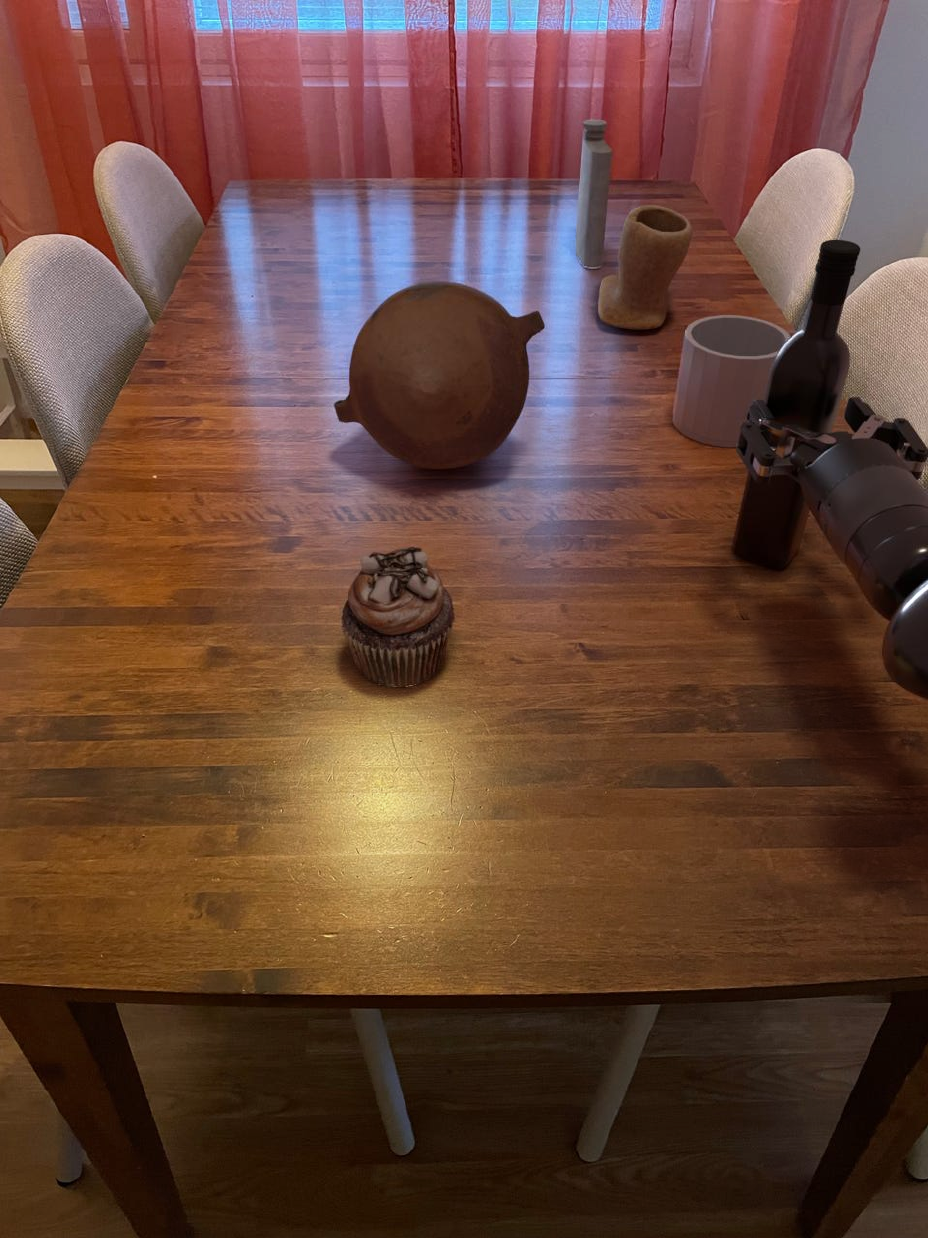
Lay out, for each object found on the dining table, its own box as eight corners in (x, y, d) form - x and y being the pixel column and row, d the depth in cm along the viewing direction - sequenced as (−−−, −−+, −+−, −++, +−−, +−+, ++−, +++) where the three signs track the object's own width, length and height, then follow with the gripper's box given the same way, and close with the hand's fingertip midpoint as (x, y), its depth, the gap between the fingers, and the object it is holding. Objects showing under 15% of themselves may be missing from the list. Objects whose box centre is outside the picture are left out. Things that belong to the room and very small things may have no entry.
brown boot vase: (678, 339, 132) (695, 229, 123) (593, 333, 134) (603, 224, 124) (678, 297, 144) (694, 194, 134) (600, 292, 145) (609, 189, 136)
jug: (489, 515, 99) (525, 423, 125) (540, 333, 89) (568, 273, 114) (306, 460, 100) (378, 380, 125) (335, 273, 90) (408, 227, 115)
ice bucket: (761, 400, 119) (779, 315, 112) (781, 448, 110) (803, 359, 103) (666, 399, 119) (679, 314, 112) (678, 446, 110) (693, 357, 103)
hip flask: (602, 269, 153) (614, 134, 140) (577, 269, 153) (587, 134, 140) (594, 236, 165) (605, 108, 152) (571, 236, 165) (579, 108, 152)
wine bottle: (748, 527, 98) (817, 228, 78) (802, 545, 95) (887, 241, 76) (726, 554, 94) (793, 248, 75) (782, 574, 92) (866, 262, 72)
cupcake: (330, 638, 85) (319, 547, 78) (430, 610, 88) (427, 520, 81) (366, 708, 78) (356, 616, 72) (473, 675, 81) (473, 583, 75)
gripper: (980, 464, 70) (893, 365, 82) (789, 470, 69) (730, 370, 81) (947, 546, 74) (869, 442, 87) (768, 552, 74) (716, 446, 86)
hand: (802, 407), depth 84 cm, fingers open, 8 cm apart
